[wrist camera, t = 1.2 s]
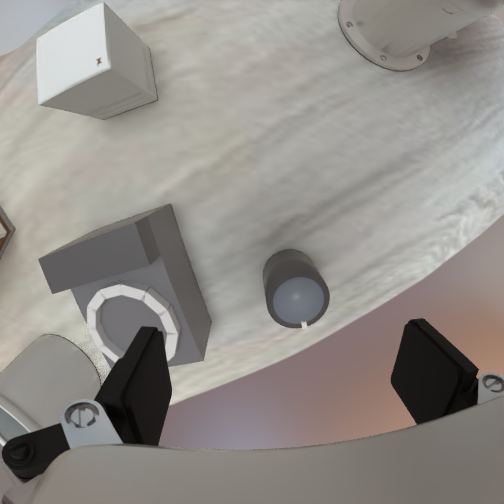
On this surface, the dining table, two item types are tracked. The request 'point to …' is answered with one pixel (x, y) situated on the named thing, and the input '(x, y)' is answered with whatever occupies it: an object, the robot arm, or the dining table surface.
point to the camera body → (134, 285)
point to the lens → (294, 289)
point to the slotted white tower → (5, 231)
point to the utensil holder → (43, 385)
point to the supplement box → (94, 66)
